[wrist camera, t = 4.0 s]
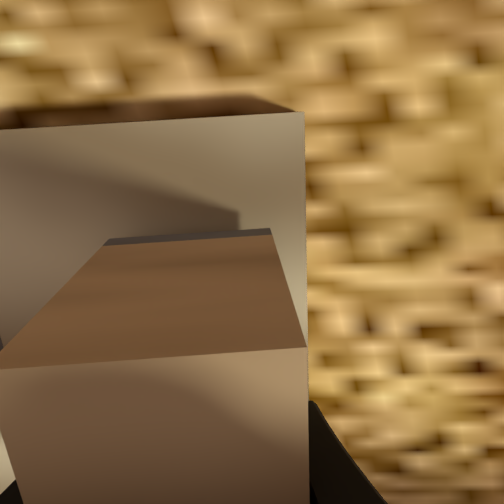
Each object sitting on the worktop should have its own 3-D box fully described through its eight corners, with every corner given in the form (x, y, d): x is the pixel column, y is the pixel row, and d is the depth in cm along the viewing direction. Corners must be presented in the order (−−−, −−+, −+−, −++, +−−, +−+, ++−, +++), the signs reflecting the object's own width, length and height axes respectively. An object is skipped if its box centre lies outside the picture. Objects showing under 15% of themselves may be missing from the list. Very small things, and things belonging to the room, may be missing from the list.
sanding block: (281, 473, 13) (313, 717, 8) (152, 483, 13) (98, 737, 8) (270, 227, 10) (307, 347, 5) (109, 238, 10) (-19, 371, 5)
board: (304, 496, 16) (310, 527, 15) (-174, 535, 15) (-207, 569, 14) (297, 111, 11) (304, 111, 10) (-382, 152, 11) (-453, 157, 10)
